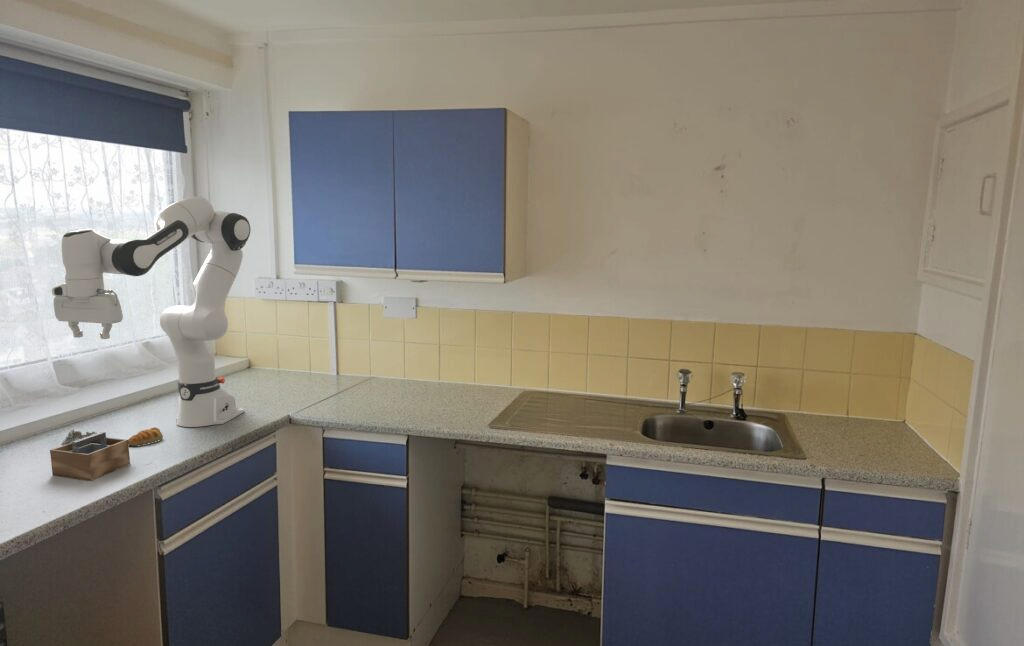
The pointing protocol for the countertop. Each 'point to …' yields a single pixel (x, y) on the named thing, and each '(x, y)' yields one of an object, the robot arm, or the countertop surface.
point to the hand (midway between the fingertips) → (91, 338)
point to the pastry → (145, 437)
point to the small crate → (91, 446)
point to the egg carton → (76, 436)
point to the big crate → (90, 460)
